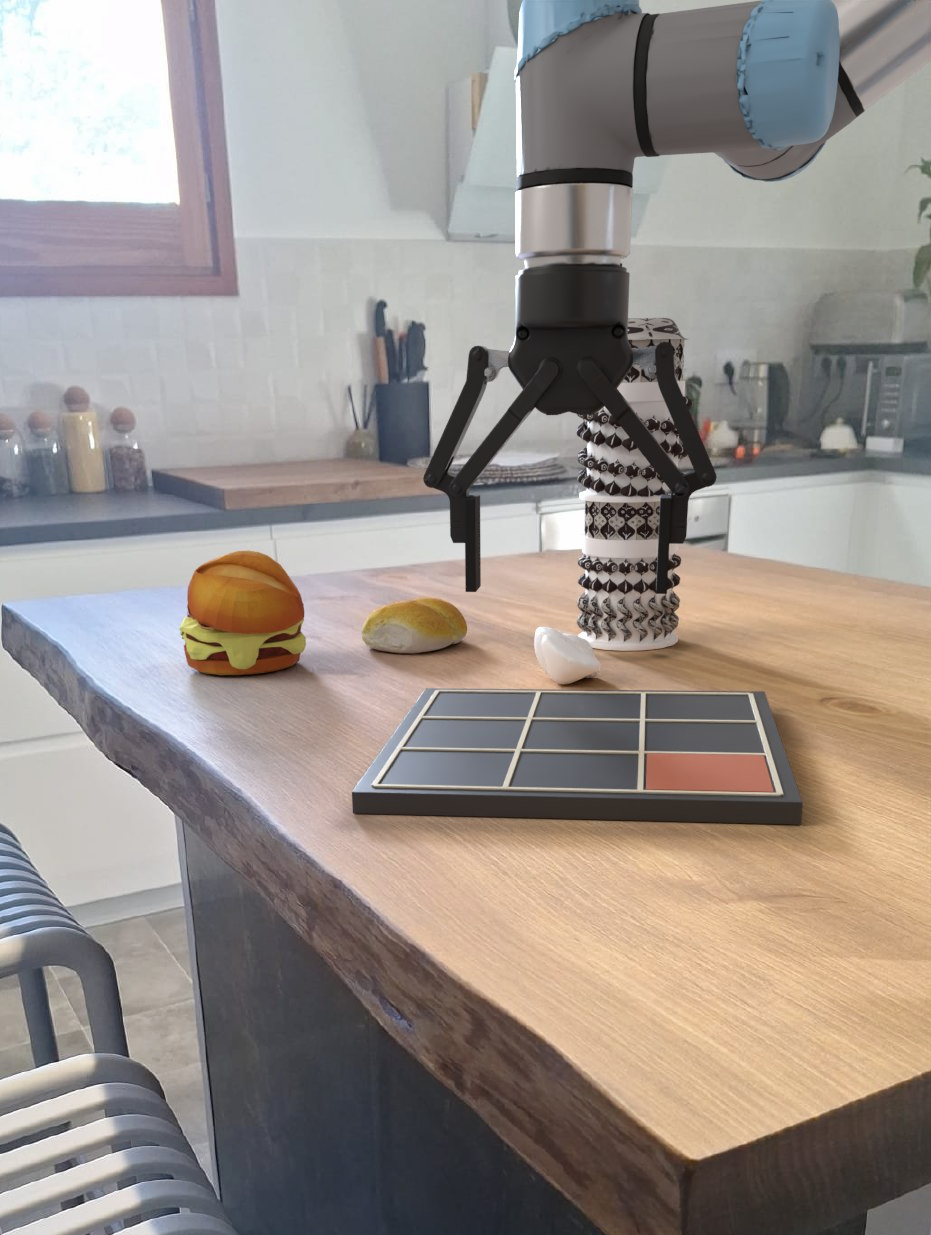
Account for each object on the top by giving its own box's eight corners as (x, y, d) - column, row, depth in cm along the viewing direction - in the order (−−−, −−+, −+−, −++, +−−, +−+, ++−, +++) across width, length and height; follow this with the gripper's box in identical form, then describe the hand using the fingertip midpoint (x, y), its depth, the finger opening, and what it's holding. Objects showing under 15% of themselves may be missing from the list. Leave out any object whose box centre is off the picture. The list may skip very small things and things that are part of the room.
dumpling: (522, 677, 94) (530, 625, 94) (588, 687, 95) (597, 635, 94) (537, 681, 88) (546, 625, 87) (608, 692, 88) (618, 636, 88)
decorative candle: (631, 625, 111) (640, 322, 101) (705, 641, 103) (721, 316, 94) (551, 639, 106) (552, 322, 97) (622, 656, 99) (631, 316, 90)
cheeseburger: (283, 644, 106) (285, 532, 101) (327, 699, 99) (332, 580, 93) (167, 656, 102) (163, 539, 97) (203, 714, 95) (201, 591, 89)
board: (763, 708, 83) (764, 689, 82) (800, 825, 62) (803, 800, 61) (426, 704, 86) (425, 686, 86) (352, 813, 65) (351, 790, 65)
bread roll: (480, 637, 108) (479, 591, 106) (431, 658, 101) (430, 608, 99) (398, 630, 112) (397, 586, 110) (345, 650, 104) (343, 602, 103)
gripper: (761, 263, 83) (739, 582, 91) (397, 274, 87) (406, 580, 95) (771, 254, 76) (746, 600, 84) (375, 266, 80) (387, 597, 88)
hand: (566, 590), depth 89 cm, fingers open, 13 cm apart
